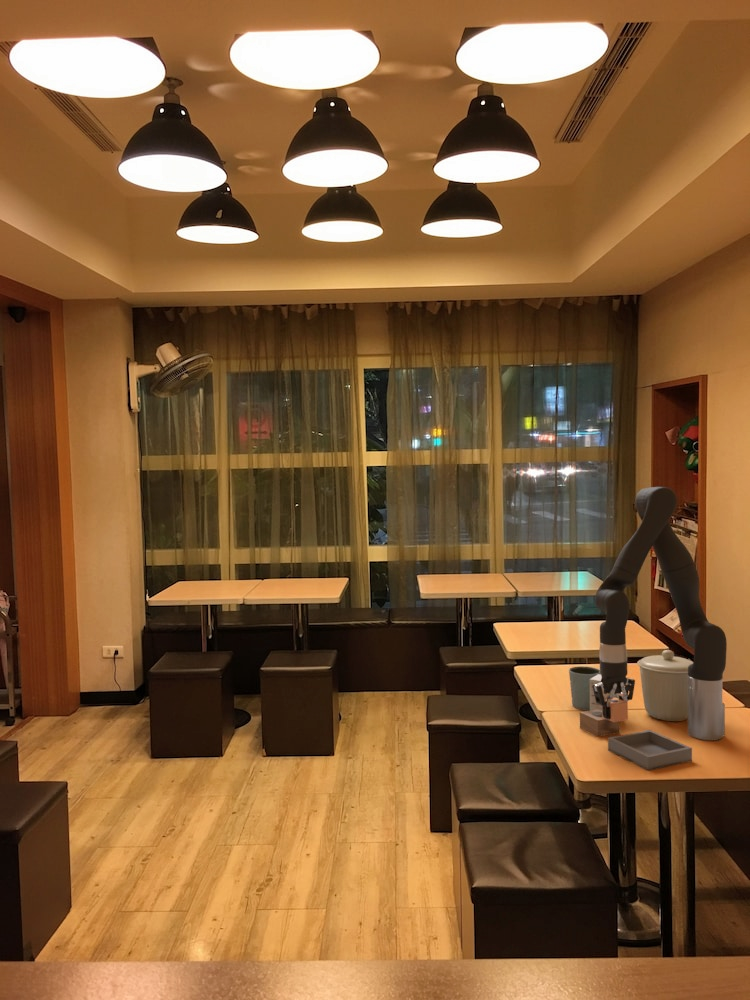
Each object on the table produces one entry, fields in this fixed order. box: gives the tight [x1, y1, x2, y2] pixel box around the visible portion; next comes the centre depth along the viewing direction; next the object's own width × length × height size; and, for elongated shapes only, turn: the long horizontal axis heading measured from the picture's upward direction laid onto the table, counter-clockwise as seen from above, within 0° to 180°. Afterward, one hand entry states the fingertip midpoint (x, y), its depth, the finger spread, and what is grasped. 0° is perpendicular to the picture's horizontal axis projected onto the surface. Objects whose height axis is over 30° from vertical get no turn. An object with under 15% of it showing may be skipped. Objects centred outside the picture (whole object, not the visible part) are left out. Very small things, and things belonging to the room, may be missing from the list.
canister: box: [636, 649, 694, 722], centre depth 223 cm, size 18×18×21 cm
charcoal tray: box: [607, 729, 693, 772], centre depth 192 cm, size 15×15×4 cm
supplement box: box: [589, 674, 618, 711], centre depth 222 cm, size 7×7×13 cm
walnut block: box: [579, 709, 620, 737], centre depth 211 cm, size 8×8×5 cm
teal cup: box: [568, 665, 601, 711], centre depth 234 cm, size 10×10×12 cm
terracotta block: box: [602, 698, 629, 723], centre depth 203 cm, size 5×5×5 cm
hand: (614, 716), depth 203 cm, fingers closed on terracotta block, 5 cm apart
